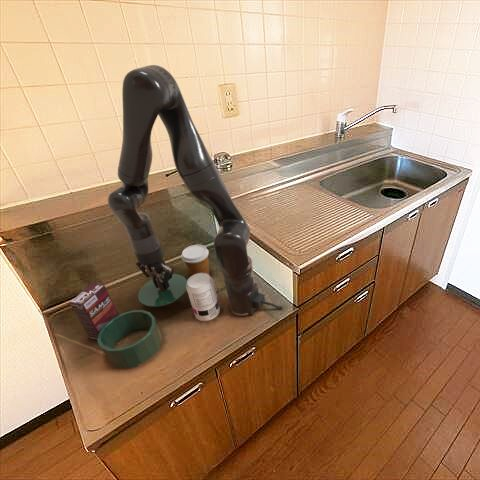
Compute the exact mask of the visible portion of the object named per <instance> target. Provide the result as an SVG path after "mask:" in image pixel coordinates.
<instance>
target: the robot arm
mask: <svg viewBox="0 0 480 480" xmlns="http://www.w3.org/2000/svg"><path fill="white" fill-rule="evenodd" d="M121 91H122V94H121V96H122V97H121V98H122V143H121V150H120V155H119V160H118V166H117V177H118V179H119V180H120V182H122V184H121V185H120V186H118V187H116V188H115V189H114V190H113V191H111V192H110V193H109V194H108V197H107V205H108V208H109V210H110V211H111V212H112V214H113V215H114V216H115V218H117V219H118V221H119V222H120V223H121V224H122V226H123V227H124V228H125V229H124V230H125V231H126V234H127V236H128V238H129V243H130V245H131V248H132V250H133V253H134V255H135V257H136V260H137V262H136V263H135V265H136V267H138V269H139V270H140V271H141V273H142V274H143V275H144V276H145V277H146V278H149V279H150V280H153V282H154V285H155V287H156V288H159V287H158V285H157V282H156V280H155V278H156V277H158V278H159V280H160V283H161V286H162V288H163V290H167V289H168V288H169V286H170V285H169V283H168V280H170V279H171V278H172V275H173V274H174V270H175V268H174V267H173V266H172V265H171V266H170V267H169V266H168V265H167V264H166V262H165V261H164V257H165V254H164V253H165V252H164V250H163V246H162V245H161V242H160V239H159V236H158V234H157V232H156V230H155V227H154V225H153V221H152V219H151V218H150V216H149V214H147V213H145V212H138V208H140V207H141V206H142V205H143V204H144V203H145V202H146V200H147V198H148V197H149V196H148V195H149V176H150V171H151V167H152V163H153V146H152V139H151V138H152V131H153V127H154V125H155V123H156V120H157V118H158V117H159V118H160V120H161V122H162V124H163V125H164V128H165V130H166V132H167V135H168V138H169V142H170V148H171V149H170V150H171V155H172V159H173V163H174V167H175V170H176V172H177V173H178V175H179V177H180V178H181V181H182V183H183V184H184V185H185V187H186V189H187V191H188V192H189V193H190V194H191V195H192V196H193V197H194V198H195V199H196V200H198V201H199V202H201V203H203V204H204V205H206V207H207V208H208V209H209V210H210V212H211V213H212V214H213V217H214V218H215V220H216V222H217V224H218V227H219V229H218V231H217V233H216V234H215V237H214V239H213V247H214V251H215V257H216V259H217V263H218V266H219V267H220V269H221V270H222V274H223V279H224V283H225V288H226V293H227V297H228V302H229V308H230V311H231V313H232V314H233V315H235V316H238V317H247V316H253V315H254V313H255V312H256V311H257V309H258V310H260V309H261V308H262V306H264V305H267V306H272V307H274V308H276V309H279V310H282V309H283V306H279V305H277V304H275V303H272V302H269V301H266V298H265V294H264V293H261V292H260V291H259V285H258V283H256V282H255V276H254V267H253V260H252V258H251V256H249V255H248V250H247V246H248V243H249V241H250V238H251V229H250V227H249V225H248V223H247V221H246V219H245V218H244V216H243V215H242V214H241V212H240V210H239V209H238V207H237V206H236V204H235V202H234V200H233V199H232V197H231V195H230V192H229V191H228V188H227V187H226V184H225V182H224V181H223V179H222V177H221V174H220V171H219V170H218V168H217V166H216V164H215V162H214V160H213V159H212V157H211V155H210V152H209V151H208V149H207V148H206V145H205V143H204V141H203V139H202V137H201V135H200V133H199V131H198V130H197V128H196V125H195V123H194V120H193V119H192V116H191V114H190V111H189V109H188V107H187V104H186V102H185V99H184V97H183V94H182V91H181V88H180V87H179V84H178V82H177V80H176V79H175V77H174V76H173V75H172V73H170V72H169V70H167V69H166V68H164V67H163V66H161V65H156V64H150V65H145V66H141V67H138V68H134V69H131V70H129V72H127V73H126V74H125V75H124V78H123V81H122V88H121ZM162 276H164V277H163V278H162Z"/></svg>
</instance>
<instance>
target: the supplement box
mask: <svg viewBox="0 0 480 480" xmlns="http://www.w3.org/2000/svg"><path fill="white" fill-rule="evenodd" d="M107 289H108V288H107V287H106V285H104V284H99V283H94V282H92V283H91V284H90V285H89V286H88V287H86V288H85V289H84V290H83V291H82V292H81V293H79V294H78V295H77V296H75V298H73V299H72V300H70V301H69V304H70V306H71V308H72V309H73V312H74V313H75V315H76V317H77V318H78V320H79V321H80V323H81V325H82V327H83V329H84V330H85V332H86V334H87V335H88V337H89V338H90V339H94V340H98V334H99V332H100V331H101V329H102V328H103V326H104V325H105V324H107V323H108V322H109V321H110V320H111V319H113V318H114V317H116V316H118V315H120V314H119V312H118V310H117V308H116V306H115V304H114V301H113V300H112V298H111V297H112V296H110V294H109V291H108V290H107Z"/></svg>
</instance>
